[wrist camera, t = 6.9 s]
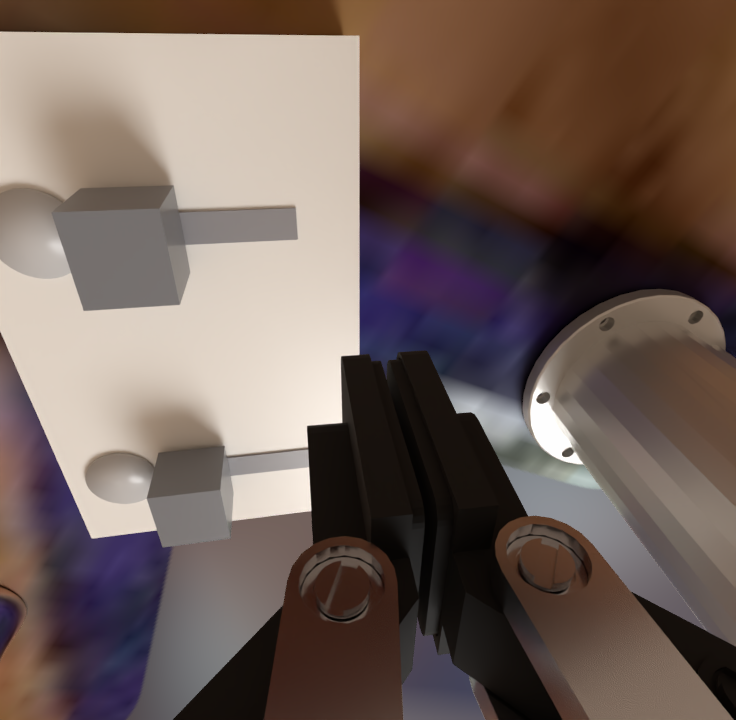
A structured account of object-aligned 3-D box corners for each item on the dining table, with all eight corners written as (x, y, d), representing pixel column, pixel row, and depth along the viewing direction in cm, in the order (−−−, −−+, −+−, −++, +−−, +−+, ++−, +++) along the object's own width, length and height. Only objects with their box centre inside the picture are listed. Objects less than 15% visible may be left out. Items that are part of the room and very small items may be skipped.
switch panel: (343, 36, 20) (360, 36, 16) (349, 455, 31) (359, 507, 28) (-58, 31, 17) (-138, 30, 14) (111, 481, 29) (90, 541, 26)
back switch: (224, 445, 24) (220, 489, 22) (233, 492, 26) (230, 538, 23) (158, 452, 23) (146, 498, 21) (172, 500, 25) (162, 547, 23)
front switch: (173, 185, 17) (159, 208, 15) (190, 272, 19) (179, 304, 17) (80, 188, 17) (51, 212, 15) (106, 276, 19) (83, 311, 16)
